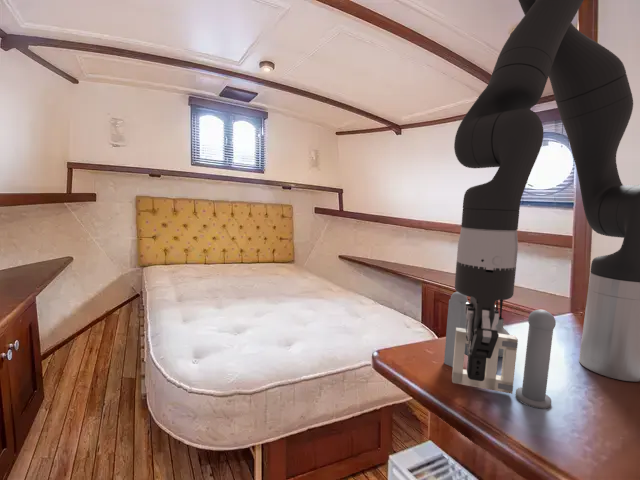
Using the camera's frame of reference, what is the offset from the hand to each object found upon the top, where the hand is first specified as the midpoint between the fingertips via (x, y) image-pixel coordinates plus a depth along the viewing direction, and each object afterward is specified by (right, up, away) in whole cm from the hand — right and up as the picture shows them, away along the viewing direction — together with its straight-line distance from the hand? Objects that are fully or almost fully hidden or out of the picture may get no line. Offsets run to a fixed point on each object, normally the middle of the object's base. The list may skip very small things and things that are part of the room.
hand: (475, 377), depth 49 cm
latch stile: (+3, -3, +12) cm, 12 cm away
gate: (+3, -3, +4) cm, 6 cm away
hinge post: (+10, -4, +2) cm, 11 cm away
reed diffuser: (+11, -2, +18) cm, 21 cm away
